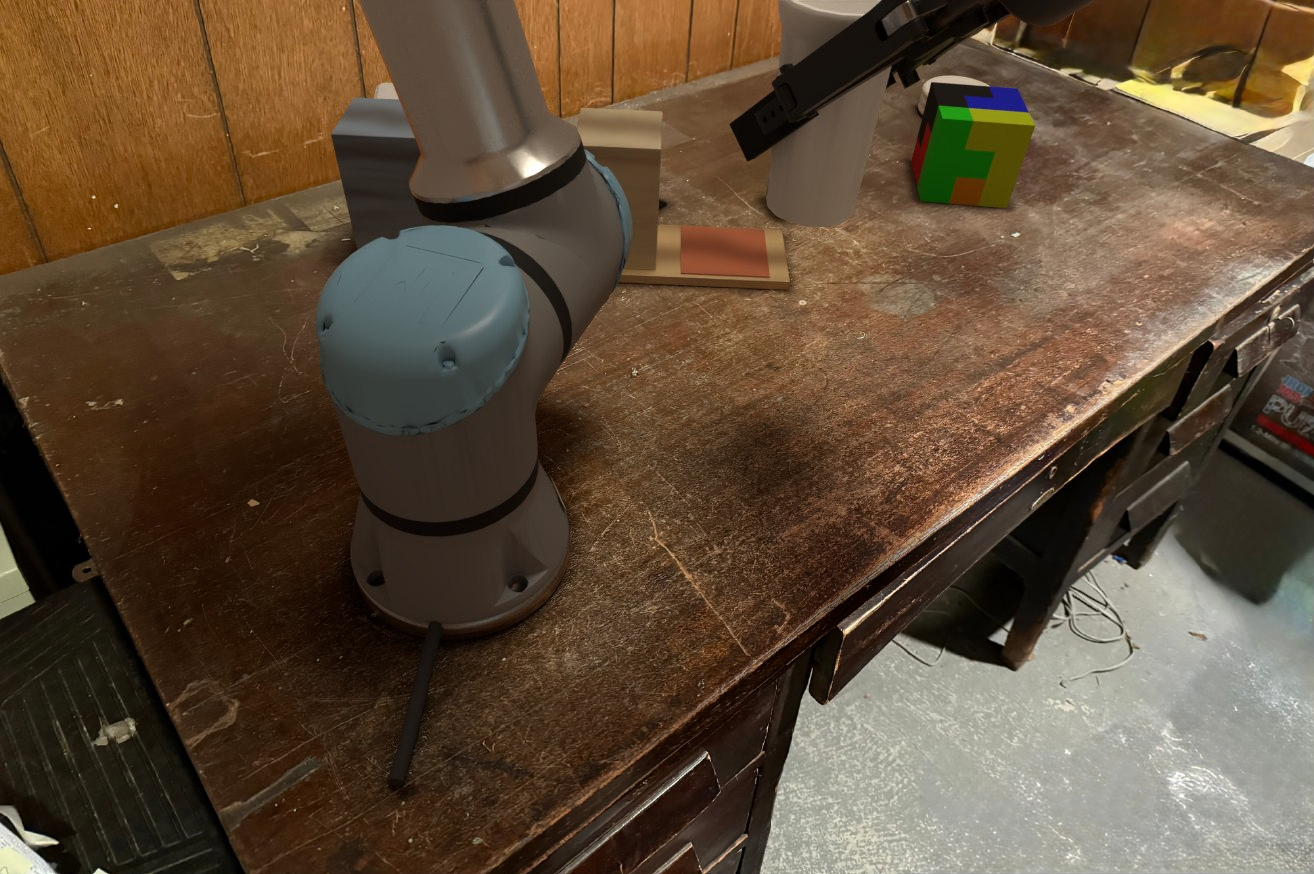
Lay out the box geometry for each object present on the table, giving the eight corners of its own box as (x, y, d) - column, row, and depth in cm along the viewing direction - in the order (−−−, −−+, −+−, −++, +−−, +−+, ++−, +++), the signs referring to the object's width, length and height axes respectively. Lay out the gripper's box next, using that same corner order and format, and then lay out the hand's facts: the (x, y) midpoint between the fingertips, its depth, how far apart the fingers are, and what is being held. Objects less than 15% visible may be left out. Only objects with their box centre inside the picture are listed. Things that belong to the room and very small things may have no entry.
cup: (835, 253, 58) (881, 28, 49) (730, 214, 62) (753, -5, 52) (886, 204, 63) (937, -9, 53) (786, 170, 66) (817, -37, 57)
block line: (788, 290, 90) (810, 160, 80) (353, 271, 89) (321, 138, 80) (780, 237, 97) (799, 113, 87) (377, 219, 96) (351, 92, 87)
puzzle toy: (991, 168, 110) (1017, 88, 104) (1006, 208, 103) (1035, 125, 96) (911, 161, 111) (931, 82, 104) (920, 201, 104) (942, 118, 97)
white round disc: (902, 106, 123) (908, 81, 120) (956, 94, 126) (963, 69, 124) (951, 136, 117) (958, 110, 114) (1006, 122, 120) (1015, 97, 118)
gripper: (1005, 33, 37) (702, 223, 56) (1207, -51, 47) (891, 134, 66) (930, -141, 36) (648, 114, 55) (1153, -189, 46) (848, 41, 66)
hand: (781, 125), depth 61 cm, fingers closed on cup, 7 cm apart
